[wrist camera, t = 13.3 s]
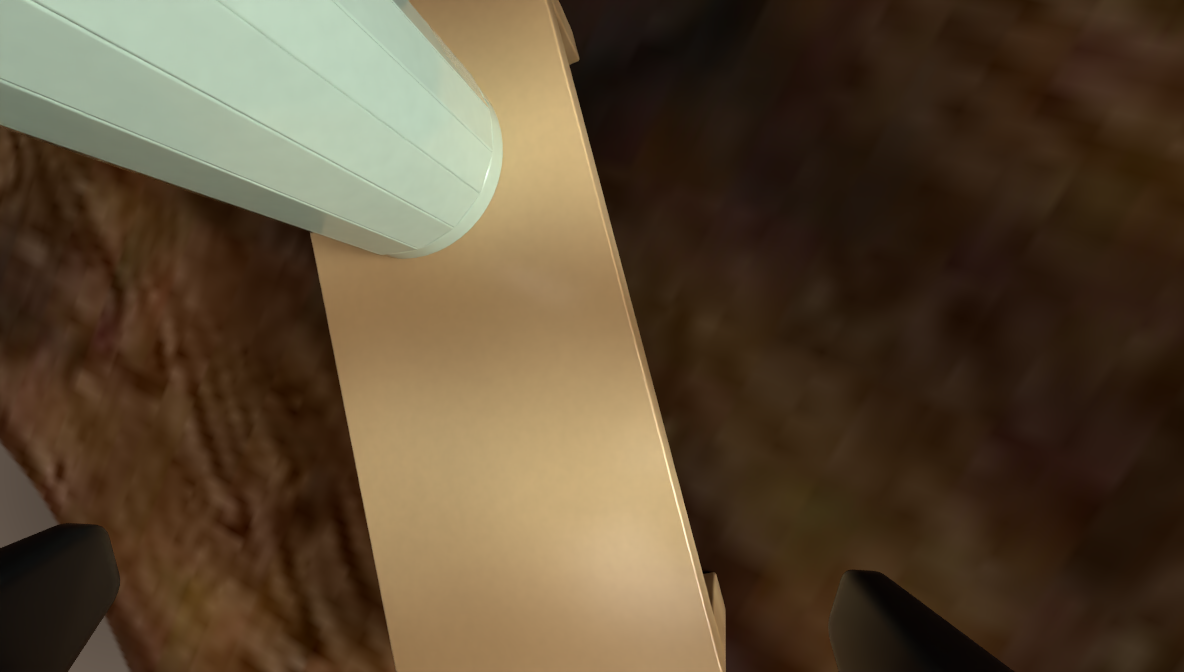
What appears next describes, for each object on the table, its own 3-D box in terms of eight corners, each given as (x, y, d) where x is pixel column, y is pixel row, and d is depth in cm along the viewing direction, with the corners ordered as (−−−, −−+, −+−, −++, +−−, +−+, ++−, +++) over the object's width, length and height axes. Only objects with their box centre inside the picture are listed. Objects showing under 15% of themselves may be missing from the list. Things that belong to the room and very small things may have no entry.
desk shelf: (725, 610, 18) (726, 688, 13) (478, 651, 19) (407, 732, 15) (572, 30, 20) (529, -66, 16) (363, 112, 22) (272, 47, 17)
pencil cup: (469, 282, 15) (-711, -137, 3) (301, 231, 17) (-1020, -209, 4) (529, 84, 15) (-378, -1266, 3) (357, 49, 17) (-798, -971, 4)
